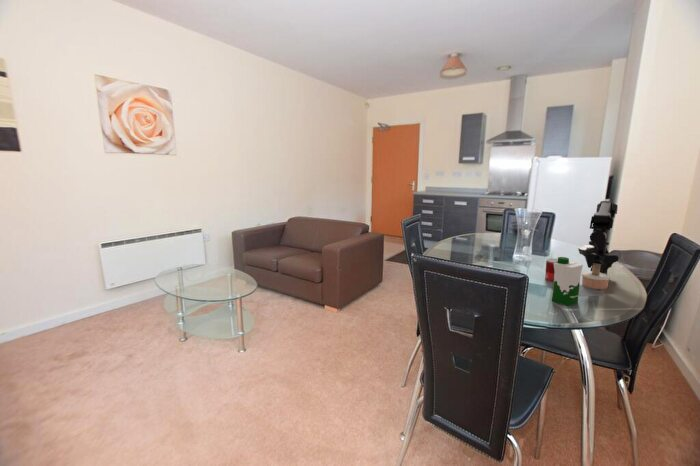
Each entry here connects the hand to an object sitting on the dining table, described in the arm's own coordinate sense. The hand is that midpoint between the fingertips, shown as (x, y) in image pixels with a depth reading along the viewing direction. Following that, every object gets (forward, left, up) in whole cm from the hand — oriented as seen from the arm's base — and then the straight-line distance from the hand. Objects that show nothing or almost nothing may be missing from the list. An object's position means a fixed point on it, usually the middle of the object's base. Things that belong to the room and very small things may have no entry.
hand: (596, 270), depth 153 cm
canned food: (+14, -10, -8) cm, 19 cm away
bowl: (0, 0, -8) cm, 8 cm away
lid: (0, 0, -3) cm, 3 cm away
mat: (+10, +6, -8) cm, 14 cm away
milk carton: (+26, +19, -8) cm, 33 cm away
